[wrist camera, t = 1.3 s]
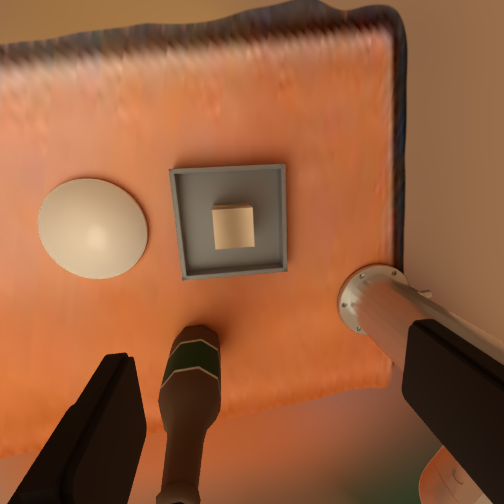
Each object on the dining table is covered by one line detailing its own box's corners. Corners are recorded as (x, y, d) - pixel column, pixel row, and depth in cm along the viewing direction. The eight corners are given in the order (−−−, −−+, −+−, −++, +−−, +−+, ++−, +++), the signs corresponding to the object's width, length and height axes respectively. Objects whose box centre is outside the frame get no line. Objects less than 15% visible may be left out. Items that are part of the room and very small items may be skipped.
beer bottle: (226, 327, 46) (235, 481, 23) (214, 368, 47) (211, 548, 24) (178, 318, 44) (136, 472, 21) (168, 360, 46) (119, 544, 23)
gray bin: (280, 164, 40) (285, 163, 37) (282, 265, 44) (287, 271, 41) (172, 169, 38) (168, 169, 36) (184, 273, 43) (182, 280, 40)
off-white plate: (140, 175, 38) (138, 175, 37) (154, 272, 42) (153, 274, 41) (30, 181, 37) (25, 181, 36) (55, 280, 40) (51, 283, 40)
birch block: (247, 202, 40) (252, 207, 35) (249, 236, 42) (254, 246, 36) (212, 205, 40) (211, 209, 34) (215, 239, 41) (215, 249, 35)
